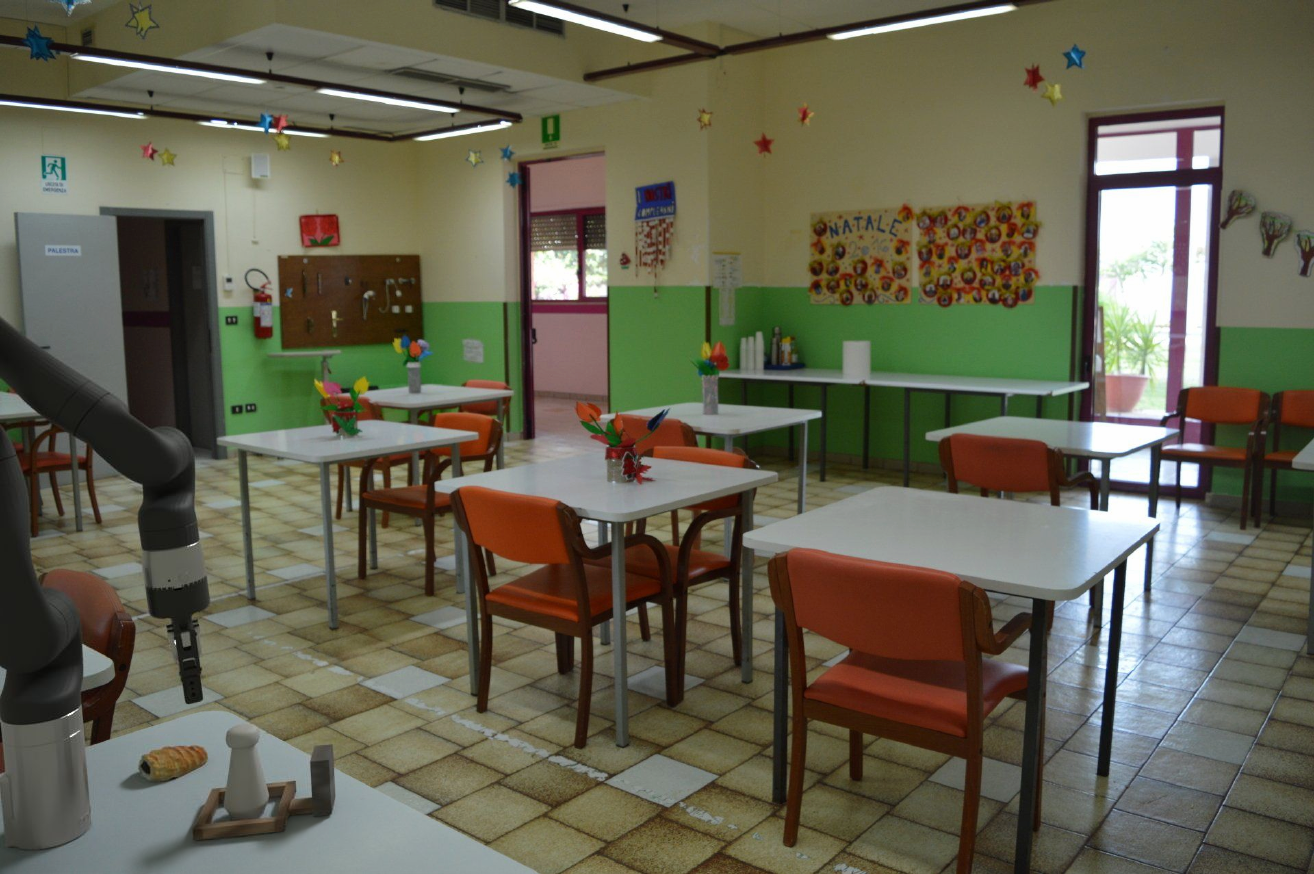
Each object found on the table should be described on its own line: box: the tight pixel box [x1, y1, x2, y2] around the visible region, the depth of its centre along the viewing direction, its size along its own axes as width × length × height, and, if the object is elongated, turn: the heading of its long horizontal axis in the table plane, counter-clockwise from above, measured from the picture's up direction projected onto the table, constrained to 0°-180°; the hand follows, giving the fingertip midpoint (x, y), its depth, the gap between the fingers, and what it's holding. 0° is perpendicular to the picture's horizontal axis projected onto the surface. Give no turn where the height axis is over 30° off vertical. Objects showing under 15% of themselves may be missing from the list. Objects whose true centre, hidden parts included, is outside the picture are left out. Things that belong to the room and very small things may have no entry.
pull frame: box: [192, 743, 336, 841], centre depth 139 cm, size 17×11×8 cm, turn 102°
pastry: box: [137, 745, 209, 783], centre depth 153 cm, size 9×7×4 cm
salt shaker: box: [223, 723, 270, 821], centre depth 138 cm, size 6×6×13 cm
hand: (192, 691), depth 136 cm, fingers open, 8 cm apart
